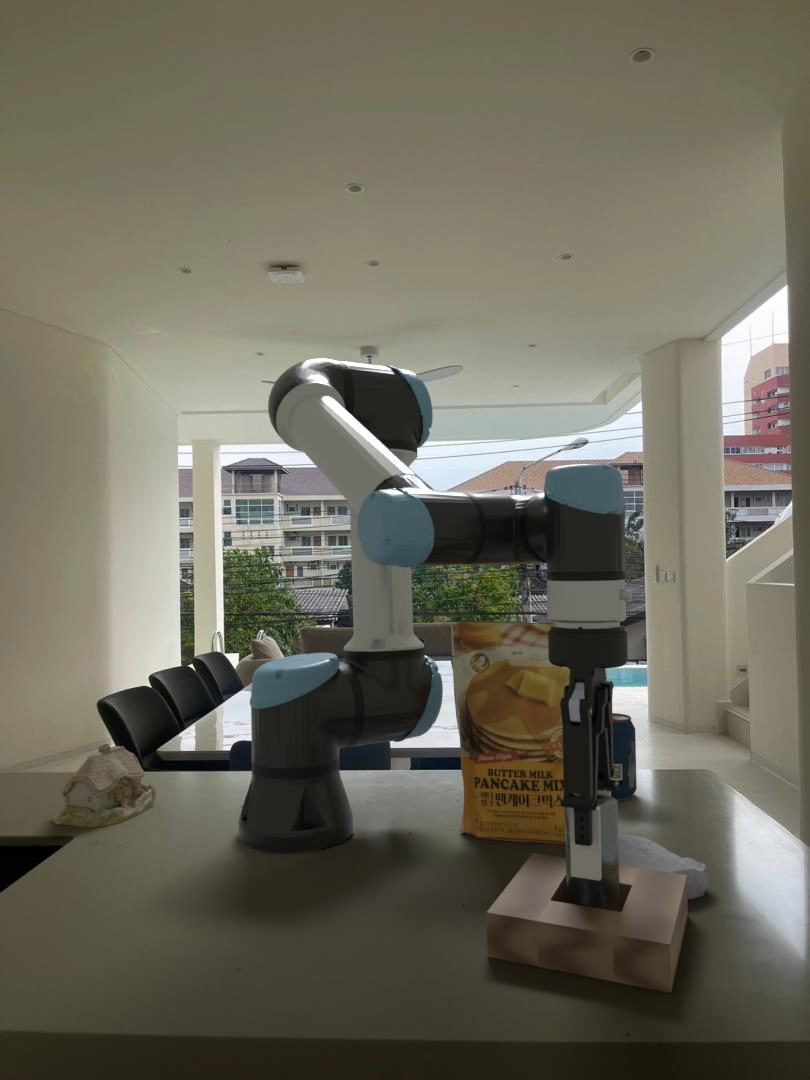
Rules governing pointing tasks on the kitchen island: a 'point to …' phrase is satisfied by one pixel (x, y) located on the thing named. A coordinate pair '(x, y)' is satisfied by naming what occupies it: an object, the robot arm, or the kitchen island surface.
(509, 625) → the pancake mix bag
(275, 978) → the kitchen island surface
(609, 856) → the cylinder
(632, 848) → the stone block
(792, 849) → the kitchen island surface
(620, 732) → the soda can
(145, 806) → the ceramic model
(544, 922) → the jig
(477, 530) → the robot arm
